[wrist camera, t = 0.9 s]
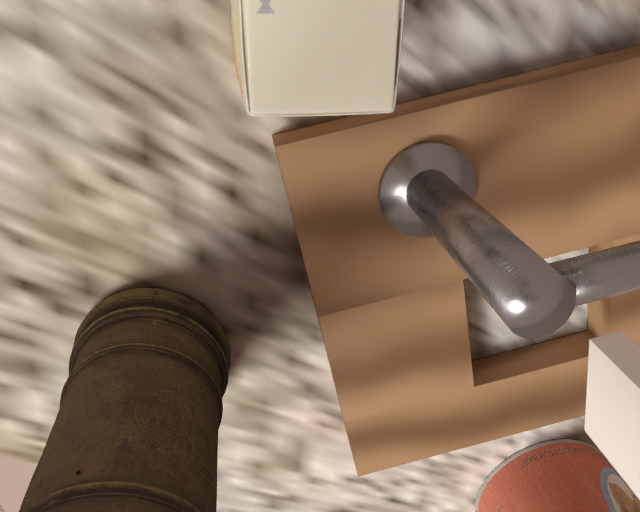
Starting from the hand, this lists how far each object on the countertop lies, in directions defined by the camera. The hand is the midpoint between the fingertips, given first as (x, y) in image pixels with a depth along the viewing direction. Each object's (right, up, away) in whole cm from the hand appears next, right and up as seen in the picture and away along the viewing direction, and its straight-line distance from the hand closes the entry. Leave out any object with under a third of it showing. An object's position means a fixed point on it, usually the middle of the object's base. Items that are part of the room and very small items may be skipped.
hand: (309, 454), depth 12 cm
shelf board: (+11, +3, +22) cm, 25 cm away
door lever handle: (+8, +8, +17) cm, 20 cm away
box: (-1, +16, +15) cm, 21 cm away
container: (-10, -1, +21) cm, 24 cm away
